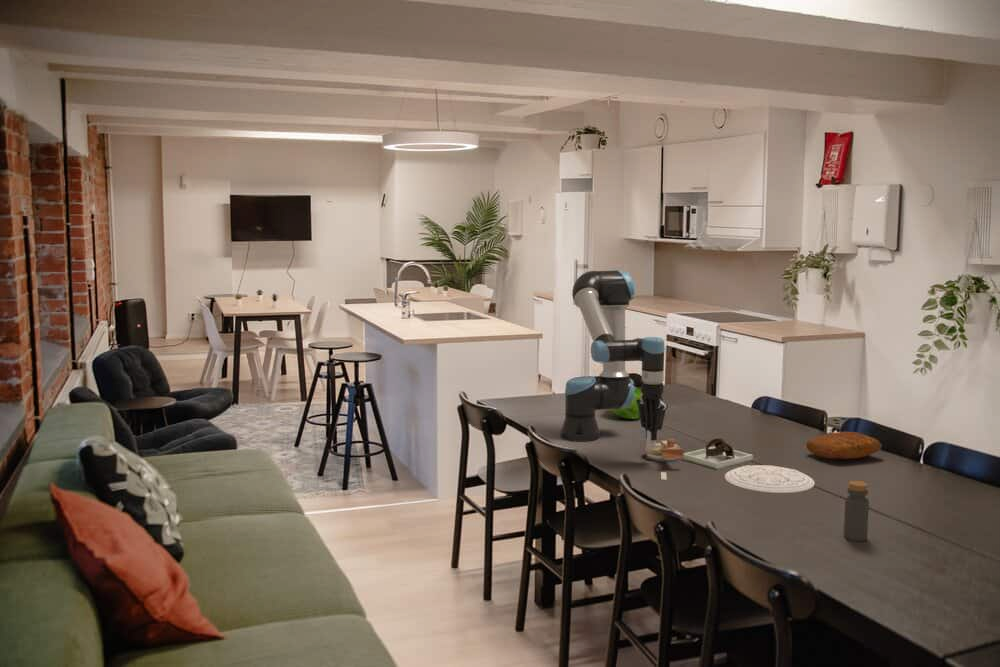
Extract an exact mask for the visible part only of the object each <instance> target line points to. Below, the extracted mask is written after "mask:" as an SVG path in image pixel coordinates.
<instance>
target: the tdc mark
mask: <svg viewBox="0 0 1000 667" xmlns="http://www.w3.org/2000/svg"><path fill="white" fill-rule="evenodd" d="M667 479H668V478H667V472H666V471H665V472H664V471H660V480H661V481H667Z"/></svg>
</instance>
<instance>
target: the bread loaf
mask: <svg viewBox="0 0 1000 667" xmlns="http://www.w3.org/2000/svg"><path fill="white" fill-rule="evenodd" d="M806 448H807V450H808V451H809V452H810V453H811V454H814V455H815V456H818V457H821V458H824V459H825V458H826V459H829V460H830V459H831V460H835V459H837V460H838V459H839V460H843V459H844V460H847V459H848V460H849V459H851V460H853V459H860V458H863V457H867V456H870V455H872V454H875V453H877V452H878V451H879V452H880V450H881V449H882V443H880V441H879V440H878V439H876V438H874V437H871V436H869V435H866V434H864V433H860V432H856V431H845V430H844V431H840V432H839V431H837V432H833V433H828V434H823V435H820V436H818V437H815V438H813V439H810V440H808V441H807V442H806Z"/></svg>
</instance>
